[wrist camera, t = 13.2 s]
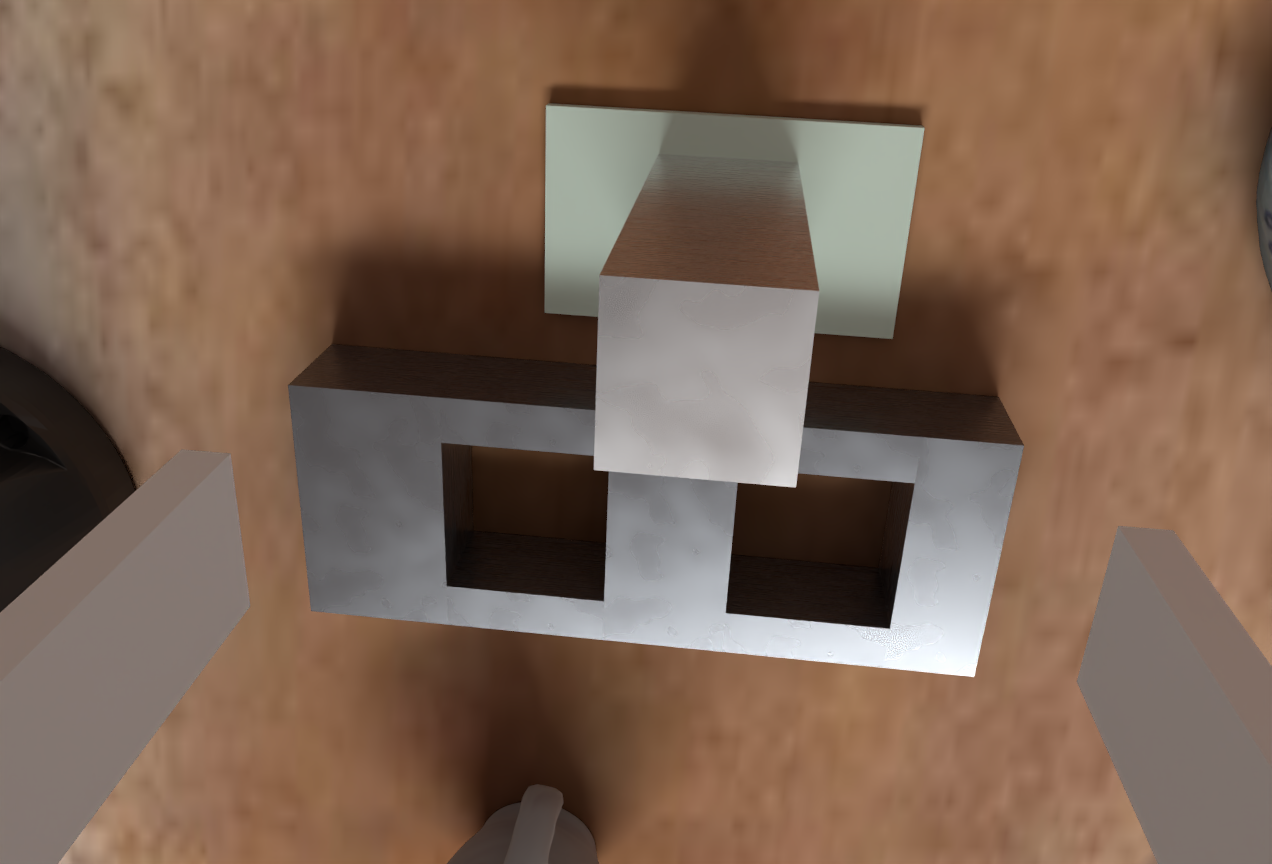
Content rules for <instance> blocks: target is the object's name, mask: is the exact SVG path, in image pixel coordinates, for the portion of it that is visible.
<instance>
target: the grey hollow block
mask: <svg viewBox="0 0 1272 864" xmlns="http://www.w3.org/2000/svg"><path fill="white" fill-rule="evenodd" d="M596 374H597V365H587V364H575V363H562V362H549V361H537V360H524V359H511V358H499V357H486V356H473V355H460V354H448V353H435V352H422V351H410V350H397V349H384V348H372V347H359V346H346V345H334V344H332V345H331V346H329V347H328V348H327V349H326V350H325V351H324V352H323V353H322V354H321V355H320V356H319V357H318V358H317V359H316V360H314V361H313V362H312V363H311V364H310V365H309V366H308V367H307V368H306V369H305V370H304V371H303V372H302V373H301V374H300V375H298V376H297V377H296V378H295V379H294V380H293V381H292V382H291V383H290V384H289V385H288V389H289V398H290V408H291V418H292V428H293V438H294V448H295V457H296V467H297V477H298V487H299V497H300V507H301V517H302V526H303V536H304V546H305V556H306V566H307V576H308V585H309V595H310V605H311V611H317V612H327V613H337V614H347V615H357V616H367V617H377V618H387V619H397V620H407V621H417V622H427V623H437V624H448V625H458V626H468V627H478V628H488V629H498V630H508V631H518V632H528V633H538V634H548V635H558V636H568V637H579V638H589V639H599V640H609V641H619V642H629V643H639V644H649V645H659V646H669V647H679V648H689V649H699V650H710V651H720V652H730V653H740V654H750V655H760V656H770V657H780V658H790V659H800V660H810V661H820V662H830V663H841V664H851V665H861V666H871V667H881V668H891V669H901V670H911V671H921V672H931V673H941V674H951V675H961V676H972V677H974V675H975V670H976V666H977V661H978V657H979V652H980V647H981V643H982V638H983V633H984V629H985V624H986V619H987V615H988V610H989V606H990V601H991V596H992V592H993V587H994V582H995V578H996V573H997V568H998V564H999V559H1000V554H1001V550H1002V545H1003V541H1004V536H1005V531H1006V527H1007V522H1008V517H1009V513H1010V508H1011V503H1012V499H1013V494H1014V490H1015V485H1016V480H1017V476H1018V471H1019V466H1020V462H1021V457H1022V452H1023V448H1024V445H1023V443H1022V441H1021V439H1020V437H1019V435H1018V433H1017V431H1016V429H1015V427H1014V425H1013V423H1012V422H1011V420H1010V418H1009V416H1008V414H1007V412H1006V410H1005V408H1004V406H1003V404H1002V402H1001V400H1000V398H999V397H993V396H981V395H968V394H955V393H943V392H930V391H917V390H905V389H892V388H879V387H867V386H854V385H841V384H828V383H816V382H809V383H808V391H807V400H806V408H805V417H804V425H803V433H802V442H801V450H800V459H799V467H798V473H801V474H812V475H824V476H836V477H847V478H859V479H871V480H882V481H893V482H892V488H891V494H890V500H889V507H888V513H887V519H886V525H885V532H884V538H883V544H882V550H881V556H880V563H879V568H873V567H862V566H851V565H840V564H829V563H818V562H808V561H797V560H786V559H775V558H764V557H753V556H742V555H731V549H732V538H733V527H734V517H735V506H736V495H737V484H738V482H726V481H715V480H703V479H691V478H680V477H668V476H657V475H645V474H634V473H622V472H611V471H609V479H608V507H607V535H606V543H601V542H590V541H579V540H568V539H558V538H547V537H536V536H525V535H514V534H503V533H492V532H481V531H474V523H473V483H472V445H473V446H485V447H497V448H509V449H520V450H532V451H544V452H555V453H567V454H579V455H590V456H594V444H595V409H596Z"/></svg>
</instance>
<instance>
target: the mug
mask: <svg viewBox="0 0 1272 864" xmlns="http://www.w3.org/2000/svg"><path fill="white" fill-rule="evenodd" d="M563 803H564V802H563V794H562V793H561V792H560V791H559V790H557V789H556V788H553V787H549V786H545V785H539V784H536V785H532V786H529V787H528V788H527V790H526V792H525V793H524V795H523V797H522V801H521V802H519V803H514V804H511V805H508V806H505V807H503V808H501V809H499V810H498V811H496V812H495V813H494V814H493V815H491V816H490V818H489V819H488V820H487V821H486V823H485V824H484V826H483V827H482V828H481V830H479V831H478V832H477V833H476V834H475V835H474V836H473V837H472V838H471V839H469V840H468V841H467V842H466V843H465V844H464V845H463V846H462V847H461V848H460V849H459V850H458V851H457V852H456V854H455V855H454V856H453V857H452V858H451V859H450V861H449V862H448V863H447V864H599V862H598V859H597V853H596V846H595V842H594V839H593V836H592V835H591V833H590V831H589V830H588V828H587V827H586V826H585V824H584V823H583V822H582V821H581V820H579V819H578V818H577V817H576V816H574V815H573V814H571V813H570V812H568V811H566V810H564V809H562V805H563Z"/></svg>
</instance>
